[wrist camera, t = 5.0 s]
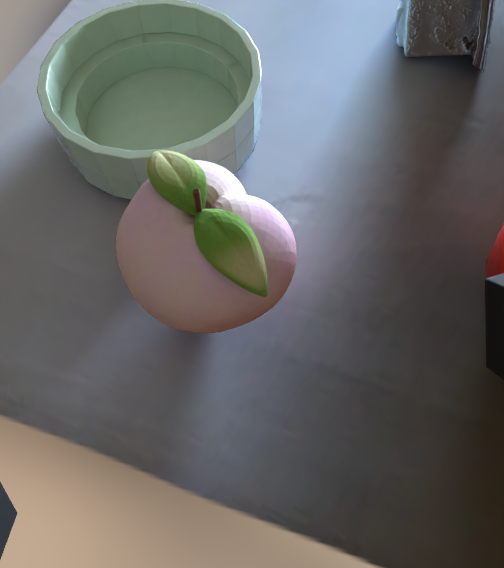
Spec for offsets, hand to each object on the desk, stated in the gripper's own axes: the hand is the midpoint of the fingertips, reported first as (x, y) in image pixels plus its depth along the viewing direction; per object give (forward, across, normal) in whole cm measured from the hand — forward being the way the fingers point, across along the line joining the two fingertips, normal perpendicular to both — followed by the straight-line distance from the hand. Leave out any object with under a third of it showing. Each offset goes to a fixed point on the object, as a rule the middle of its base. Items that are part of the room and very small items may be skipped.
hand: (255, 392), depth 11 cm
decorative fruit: (+16, 0, -3) cm, 17 cm away
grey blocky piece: (+29, +24, +10) cm, 39 cm away
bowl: (+26, 0, +7) cm, 27 cm away
